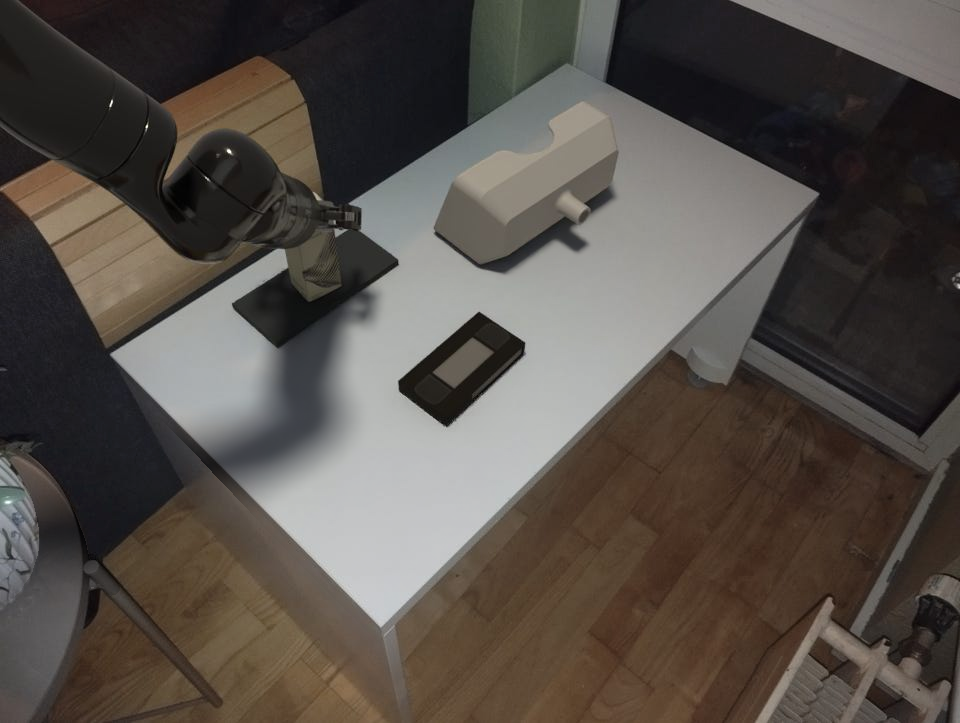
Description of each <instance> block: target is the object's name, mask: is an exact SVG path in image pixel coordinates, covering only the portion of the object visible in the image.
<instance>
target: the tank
mask: <svg viewBox="0 0 960 723" xmlns="http://www.w3.org/2000/svg"><path fill="white" fill-rule="evenodd" d="M547 128H548V130H549V131H550V132H551V133H552V137H553V139H552V140H553V141H552V143H551V144H550V145H549V146H548V147H547V148H545V149H543V150H541V151H539V152H534V153H519V152H514V151H512V150H507V149H505V150H502V149H501V150H498V151H496V152H494V153H492V154H491V155H489V156H487V157H486V158H483V160H481V161H478V162H477V163H475V164H474V165H472V166H471V167H468V168H467V169H465V170H464V171H462V172H461V173H460V174H458V175H457V176H456V177H455V178H454V179H453V181H452V182H451V184H450V186H449V189H448V191H447V194H446V196H445V198H444V200H443V203H442V206H441V208H440V210H439V213H438V216H437V218H436V220H435V222H434V225H433V228H432V229H433V231H435V232H436V233H437V234H439V235H440V236H442V237H443V238H444V239H446V240H447V241H448V242H449V243H451V244H452V245H453V246H455V247H456V248H457V249H459V250H460V251H461V252H463V253H464V254H465V255H467V256H468V257H469V258H470V259H471V260H472V261H474V262H476V263H477V264H478V265H484V264H487V263H490V262H493V261H496V260H499V259H502V258H504V257H505V258H506V257H507V256H509V255H511V254H512V253H513V252H516V250H518V249H519V248H521V247H523V246H524V245H525V244H527V243H529V241H531V240H532V239H534V238H536V237H537V236H538V235H540V234H541V233H543V232H544V231H546V230H547V229H548V228H550V227H552V226H553V225H555V224H556V223H557V222H559V221H560V220H562V219H564V218H566V219H568V220H570V221H571V222H573V223H575V224H576V225H578V226H581V225H583V224H584V223H585V222H587V220H588V218H589V217H590V215H591V212H592V210H591V208H590V207H589V206H588V205H586V204H585V203H587V202H589V201H590V200H591V199H592V198H595V197H596V196H597V195H599V194H600V193H601V192H602V191H604V190H605V189H607V188H608V187H610V186H611V184H612V182H613V181H614V176H615V172H616V167H617V162H618V158H619V153H620V152H619V148H618V144H617V143H618V142H617V138H616V133H615V130H614V123H613V119H612V117H611V116H609V115H608V114H606V113H604V112H603V111H601V110H599V109H598V108H596V107H594V106H592V105H590V104H589V103H588V102H585V101H584V100H582V101H580V102H578V103H577V104H575V105H572V106H571V107H570V108H567V109H566V110H565V111H563V112H561V113H560V114H558V115H556V116H554V117H552V119H550V120H549V122H548V124H547Z"/></svg>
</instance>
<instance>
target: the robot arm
mask: <svg viewBox="0 0 960 723" xmlns="http://www.w3.org/2000/svg"><path fill="white" fill-rule="evenodd" d="M0 127H1V128H2V129H3V130H5V132H7V133H8V134H9V135H11V136H13V137H14V138H15V139H17V140H18V141H20V142H21V143H22V144H24V145H26V146H27V147H29V148H31V149H32V150H34V151H36V152H37V153H39V154H41V155H43V156H46V158H48V159H50V160H52V161H54V162H56V163H58V164H59V165H61V166H63V167H64V168H67V169H68V170H70V171H72V172H74V173H75V174H77V175H80V176H82V177H83V178H85V179H87V180H88V181H91V182H92V183H94V184H96V185H97V186H99V187H101V188H102V189H104V190H105V191H107V192H108V193H110V194H111V195H113V196H114V197H115V198H116V199H118V200H119V201H121V202H122V203H123V204H124V205H126V206H127V207H128V208H129V209H130V210H131V211H132V212H134V213H135V214H136V215H137V216H138V217H139V218H140V219H141V220H142V221H144V223H145V224H146V225H147V226H149V228H150V229H151V230H152V231H153V232H154V233H155V234H156V235H157V236H158V237H159V239H160V240H162V241H163V243H165V245H167V246H168V247H169V248H170V249H171V250H172V251H173V252H175V253H176V254H177V255H178V256H179V257H181V258H183V259H185V260H187V261H188V262H191V263H193V264H199V265H215V264H218V263H223V262H224V261H226V260H227V259H228V258H230V257H231V256H232V255H233V254H234V252H236V250H237V249H238V248H239V247H240V245H247V246H249V245H250V246H254V247H257V248H261V249H273V250H285V249H290V248H295V247H297V246H300V245H302V244H303V243H305V242H306V241H307V240H308V239H309V238H310V237H311V236H312V235H313V233H314V232H329V233H330V232H332V231H333V229H334V230H338V231H344V230H348V229H353V230H354V231H358V230H359V231H361V230H362V216H363V215H362V214H363V210H362V209H363V208H362V207H359V206H356V205H353V204H350V203H347V202H346V203H344V204H340V205H339V206H336V205H334V203H333V202H332V201H330V200H329V201H328V200H323V201H321V200H317V199H316V197H315V195H314V194H313V192H314V191H312V190H311V188H310V187H309V186H308V185H307V184H306V183H304V182H303V181H301V180H299V179H298V178H295V177H293V176H291V175H288V174H286V173H284V172H281V170H280V168H279V166H278V164H277V163H276V161H275V160H274V159H273V157H272V156H271V155H270V153H268V151H267V150H266V149H265V148H264V147H263V146H262V145H261V144H260V143H258V142H257V141H256V140H254V139H253V138H252V137H250V136H248V135H247V134H245V133H243V132H241V131H238V130H235V129H231V128H217V129H214V130H211V131H209V132H207V133H205V134H203V135H202V136H201V137H200V138H199V139H198V140H197V141H196V142H195V143H194V145H193V146H192V147H191V148H190V150H189V151H188V152H187V154H186V156H184V157H183V159H182V160H181V162H180V163H179V164H178V165H177V167H176V168H175V169H174V170H173V172H172V173H171V174H170V176H169V177H168V178H167V179H166V181H165V177H166V174H167V172H168V169H169V166H170V164H171V162H172V160H173V157H174V155H175V151H176V148H177V144H178V126H177V122H176V120H175V118H174V117H173V115H172V114H171V112H170V111H169V110H168V109H167V108H166V107H165V106H164V105H163V104H162V103H160V102H159V101H157V100H156V99H155V98H153V97H152V96H150V95H149V94H147V93H146V92H144V90H142V89H141V88H140V87H137V86H136V85H134V83H132V82H130V81H129V80H127V79H126V78H125V77H124V76H122V75H121V74H119V73H117V72H116V71H115V70H113V69H112V68H111V67H109V66H108V65H106V64H105V63H103V62H102V61H100V60H99V59H97V58H96V57H94V56H93V55H92V54H90V53H88V52H87V51H86V50H85V49H83V48H81V46H78V45H77V44H76V43H75V42H73V41H72V40H70V39H69V38H68V37H66V36H65V35H63V34H62V33H61V32H59V31H58V30H56V29H55V28H54V27H53V26H51V25H50V24H49V23H47V22H46V21H45V20H43V18H41V17H39V16H38V15H37V14H36V13H34V12H33V11H32V10H31V9H29V8H28V7H27V6H26V5H25V4H23V2H21V1H20V0H0ZM164 181H165V182H164ZM334 221H335V223H333V222H334ZM317 226H320V227H317Z"/></svg>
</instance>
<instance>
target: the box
mask: <svg viewBox="0 0 960 723" xmlns="http://www.w3.org/2000/svg"><path fill="white" fill-rule="evenodd" d="M312 192H313V194H314V195H315V197H316V199H317V200H321V201H324V200H323V199H322V198H321V196H319V195H318V194H317V193H316V192H315V191H312ZM333 223H334V221H333ZM334 224H335V223H334ZM317 227H320V226H317ZM336 237H337V236H336V229H333V231H332V232H330V233H329V232H314V233H313V235H312V236H311V237H310V238H309V239H308V240H307V241H306V242H305V243H303V244H302V245H300V246H297V247H295V248H290V249H284V253H285V258H286V263H287V268H288V269H289V274H290V278H291V283H292V284H293V285H294V287H295V288H296V289H297V290H298V291H299V292H300V293H301V294H302V296H303V297H304V298H305V299H306V300H307V301H308V302H311V301H313V300H315V299H317V298H319V297H321V296H323V295H325V294H327V293H329V292H331V291H333V290H335V289H337V288H339V287H340V286H341V285H342V284H341V277H340V269H339V261H338V253H337V246H336Z"/></svg>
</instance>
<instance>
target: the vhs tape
mask: <svg viewBox="0 0 960 723" xmlns="http://www.w3.org/2000/svg"><path fill="white" fill-rule="evenodd" d="M525 351H526V342H525V341H524V340H523V339H521V338H519V337H518V336H516V335H515V334H513V333H512V332H510V331H509V330H508V329H506V328H504V327H503V326H502V325H500V324H499V323H497V322H496V321H494V320H493V319H491V318H490V317H489V316H486V315H485V314H484V313H482V312H481V311H478V312H476V313H475V314H474V315H473V316H472V317H470V318H469V319H468V320H467V321H466V322H464V324H463V325H461V326H460V327H459V328H458V329H457V330H456V331H454V332H453V333H452V334H451V335H449V336H448V337H447V338H446V339H445V340H444V341H442V342H441V343H440V344H439V345H438V346H437V347H436V348H434V349H433V350H432V351H431V352H430V353H428V354H427V355H426V356H425V357H424V358H423V359H422V360H420V362H418V363H417V364H416V365H414V366H413V367H412V368H411V369H410V370H409V371H407V373H405V374H404V375H403V376H402V377H401V378H399V379H398V380H397V385H398V391H399V392H400V393H402V394H403V395H404V396H406V398H408V399H409V400H410V401H412V403H414V404H416V405H417V406H418V407H420V408H421V409H422V410H423V411H425V412H426V413H427V414H429V415H430V416H431V417H433V418H434V419H435V420H437V421H438V422H439V423H440V424H442V425H443V426H445V427H448V426H449V425H450V424H451V423H452V422H453V421H454V420H455V419H457V417H458V416H460V415H461V414H462V413H463V412H464V411H465V410H466V409H467V408H468V407H469V406H470V405H471V404H473V402H475V401H476V400H477V399H478V398H479V397H480V396H481V395H482V394H483V393H484V392H485V391H486V390H487V389H489V387H491V386H492V385H493V384H494V383H495V382H496V381H497V380H498V379H499V378H500V377H501V376H503V374H504V373H505V372H507V371H508V370H509V368H511V367H512V366H513V365H514V364H515V363H516V362H517V361H518V360H519V359H520V358H522V357H523V355H524V354H525Z"/></svg>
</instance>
